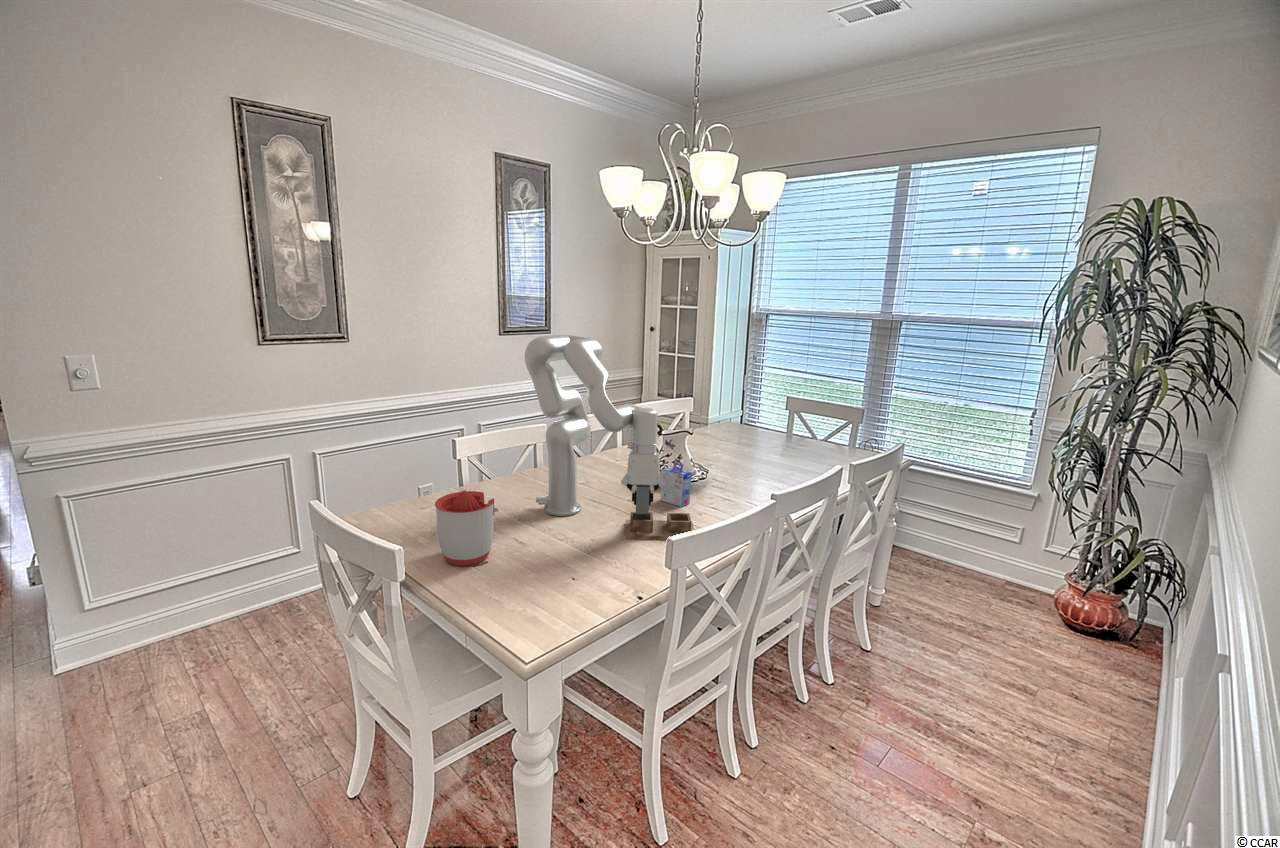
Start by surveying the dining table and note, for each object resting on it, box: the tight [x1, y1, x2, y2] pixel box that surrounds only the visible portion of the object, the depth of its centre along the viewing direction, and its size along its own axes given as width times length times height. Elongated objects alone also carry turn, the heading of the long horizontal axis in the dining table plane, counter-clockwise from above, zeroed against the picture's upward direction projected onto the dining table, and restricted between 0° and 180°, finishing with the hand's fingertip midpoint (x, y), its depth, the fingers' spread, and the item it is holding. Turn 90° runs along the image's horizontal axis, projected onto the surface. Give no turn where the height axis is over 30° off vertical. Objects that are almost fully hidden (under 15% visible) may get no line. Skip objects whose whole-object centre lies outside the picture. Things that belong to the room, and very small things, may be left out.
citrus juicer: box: [434, 490, 500, 567], centre depth 157 cm, size 16×17×20 cm
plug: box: [635, 485, 650, 514], centre depth 177 cm, size 4×4×10 cm
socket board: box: [625, 511, 695, 541], centre depth 179 cm, size 22×12×5 cm, turn 91°
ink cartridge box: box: [660, 462, 692, 507], centre depth 204 cm, size 10×6×14 cm, turn 51°
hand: (642, 503), depth 177 cm, fingers closed on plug, 4 cm apart
